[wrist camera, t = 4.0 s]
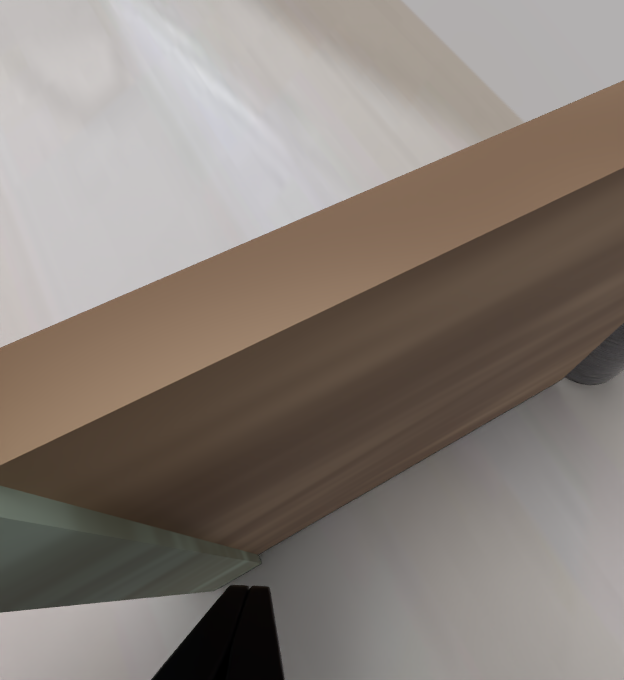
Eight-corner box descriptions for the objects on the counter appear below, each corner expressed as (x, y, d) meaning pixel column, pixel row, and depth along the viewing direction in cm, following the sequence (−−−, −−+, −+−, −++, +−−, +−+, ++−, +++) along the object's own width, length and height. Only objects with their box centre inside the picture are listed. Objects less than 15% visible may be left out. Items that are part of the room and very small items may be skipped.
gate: (566, 385, 17) (1123, -97, 5) (213, 591, 14) (-544, 668, 2) (535, 351, 18) (942, -132, 6) (196, 539, 15) (-419, 381, 3)
